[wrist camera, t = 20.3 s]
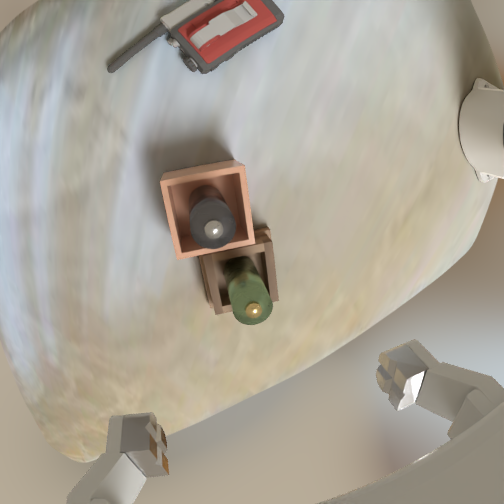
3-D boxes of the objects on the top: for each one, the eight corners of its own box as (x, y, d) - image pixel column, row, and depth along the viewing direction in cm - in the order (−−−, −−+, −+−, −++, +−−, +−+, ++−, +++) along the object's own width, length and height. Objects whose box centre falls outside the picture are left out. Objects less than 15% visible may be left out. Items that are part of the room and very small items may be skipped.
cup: (234, 159, 35) (244, 165, 30) (244, 226, 38) (255, 243, 33) (163, 172, 34) (159, 181, 28) (177, 239, 37) (177, 259, 32)
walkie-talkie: (244, -26, 26) (105, 67, 28) (252, -41, 22) (95, 60, 24) (288, 23, 30) (151, 119, 32) (301, 12, 26) (147, 118, 28)
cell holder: (268, 227, 39) (275, 236, 36) (275, 289, 43) (282, 303, 40) (195, 241, 38) (197, 252, 35) (209, 304, 41) (212, 319, 38)
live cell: (255, 254, 39) (274, 291, 30) (255, 283, 40) (273, 325, 32) (222, 256, 38) (233, 295, 29) (224, 286, 40) (234, 329, 31)
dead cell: (221, 182, 35) (233, 203, 26) (225, 215, 36) (240, 247, 28) (185, 188, 34) (186, 211, 26) (191, 222, 36) (195, 255, 27)
